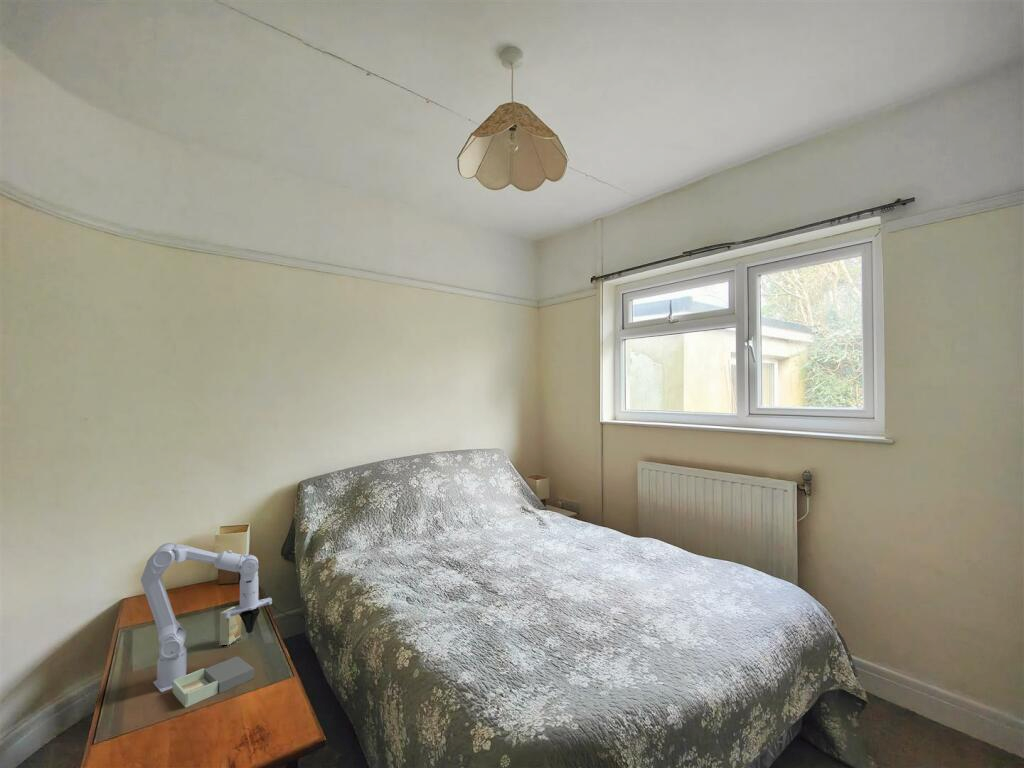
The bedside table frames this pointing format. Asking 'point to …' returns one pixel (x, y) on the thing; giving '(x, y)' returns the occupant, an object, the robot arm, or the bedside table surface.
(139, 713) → the bedside table surface
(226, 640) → the skincare box
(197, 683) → the birch block
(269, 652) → the bedside table surface
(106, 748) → the bedside table surface
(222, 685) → the plate
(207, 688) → the tray
